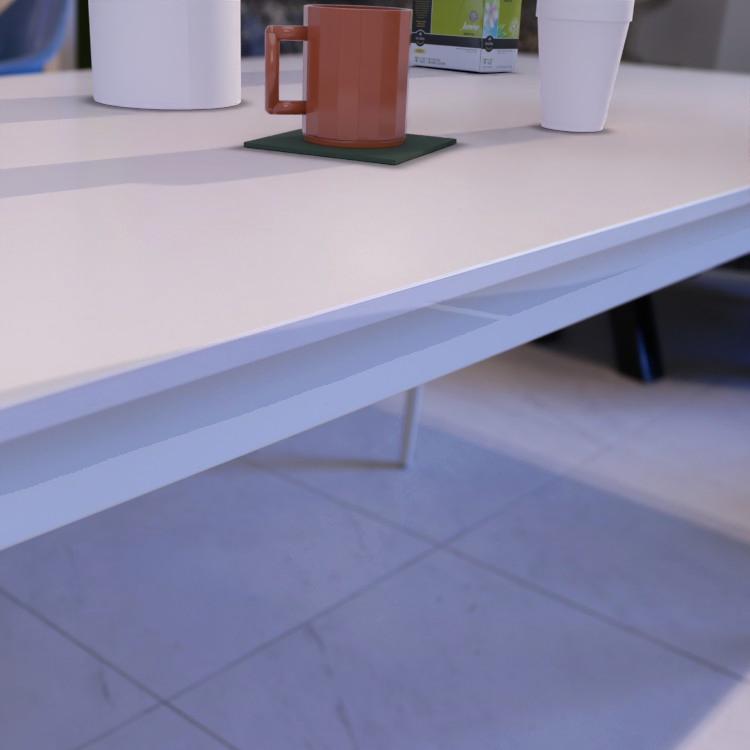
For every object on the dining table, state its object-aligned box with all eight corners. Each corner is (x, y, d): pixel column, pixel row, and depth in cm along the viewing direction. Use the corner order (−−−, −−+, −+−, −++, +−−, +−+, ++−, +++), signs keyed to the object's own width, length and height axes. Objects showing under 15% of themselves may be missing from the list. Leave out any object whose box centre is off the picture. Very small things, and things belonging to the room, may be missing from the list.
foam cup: (544, 133, 103) (557, -7, 99) (513, 120, 112) (524, -10, 107) (633, 134, 105) (651, -3, 101) (596, 121, 114) (611, -6, 109)
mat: (456, 143, 96) (456, 138, 95) (395, 164, 84) (395, 159, 83) (319, 128, 101) (319, 124, 101) (243, 146, 89) (243, 142, 89)
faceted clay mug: (389, 132, 97) (394, 6, 93) (418, 148, 89) (426, 11, 85) (256, 132, 94) (256, 1, 90) (274, 148, 86) (275, 6, 82)
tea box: (518, 71, 168) (526, -27, 163) (479, 74, 161) (486, -29, 156) (446, 63, 178) (451, -30, 173) (406, 65, 171) (411, -32, 166)
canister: (186, 89, 127) (181, -92, 120) (270, 104, 116) (271, -93, 109) (65, 95, 116) (53, -103, 109) (146, 113, 106) (138, -106, 98)
